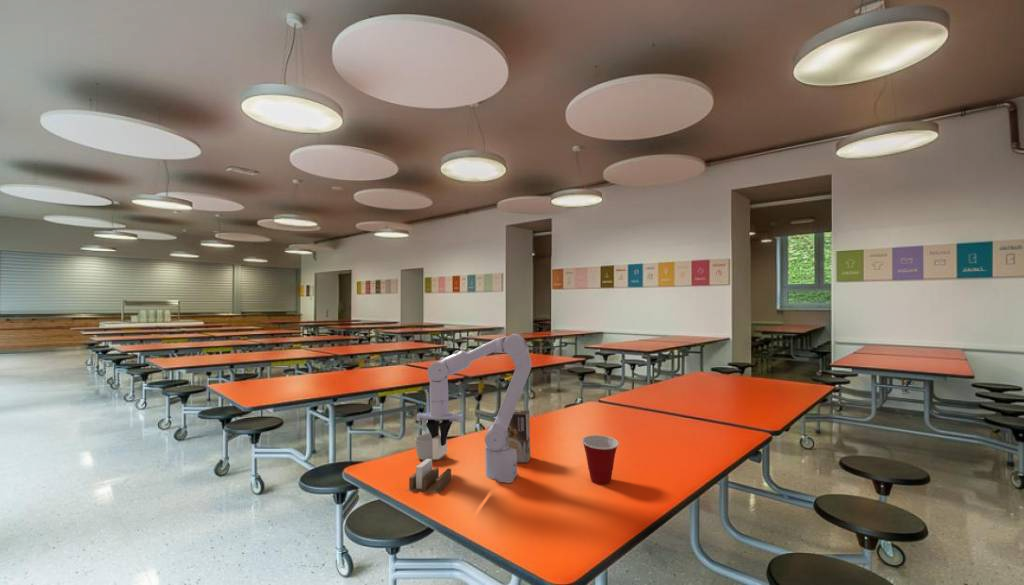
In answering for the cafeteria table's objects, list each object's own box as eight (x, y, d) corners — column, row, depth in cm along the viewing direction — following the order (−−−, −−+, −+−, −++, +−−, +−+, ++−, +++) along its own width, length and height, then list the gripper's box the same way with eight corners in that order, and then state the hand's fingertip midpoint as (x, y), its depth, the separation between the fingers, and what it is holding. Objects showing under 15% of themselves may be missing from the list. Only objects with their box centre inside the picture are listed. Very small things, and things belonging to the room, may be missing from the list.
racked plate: (432, 479, 128) (432, 459, 128) (422, 488, 121) (421, 467, 122) (426, 479, 129) (426, 458, 129) (416, 488, 122) (416, 466, 122)
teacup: (440, 465, 142) (440, 441, 143) (410, 464, 144) (409, 439, 145) (454, 452, 156) (454, 430, 156) (426, 450, 158) (426, 428, 158)
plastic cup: (597, 491, 120) (596, 447, 120) (575, 478, 129) (574, 437, 130) (628, 483, 124) (626, 441, 125) (604, 471, 134) (603, 432, 135)
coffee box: (531, 457, 149) (530, 410, 150) (527, 463, 143) (526, 414, 144) (505, 455, 151) (505, 409, 152) (501, 461, 145) (500, 413, 146)
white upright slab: (447, 452, 136) (446, 432, 136) (438, 459, 129) (437, 438, 130) (441, 451, 136) (441, 432, 137) (432, 458, 130) (432, 438, 130)
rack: (453, 481, 129) (453, 467, 129) (439, 496, 118) (439, 481, 118) (423, 478, 131) (423, 465, 131) (406, 493, 120) (406, 479, 120)
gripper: (465, 398, 136) (466, 441, 135) (423, 397, 139) (423, 439, 138) (457, 402, 129) (458, 448, 128) (413, 401, 132) (413, 446, 132)
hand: (439, 444), depth 133 cm, fingers closed on white upright slab, 2 cm apart
